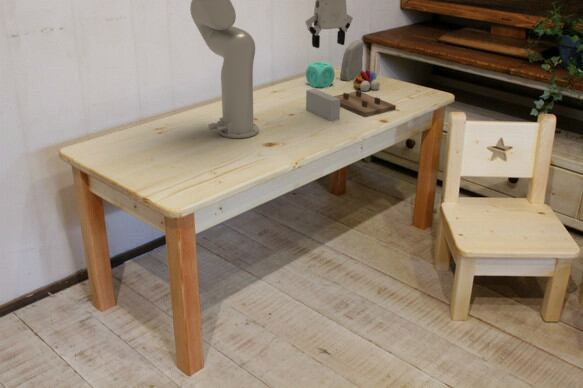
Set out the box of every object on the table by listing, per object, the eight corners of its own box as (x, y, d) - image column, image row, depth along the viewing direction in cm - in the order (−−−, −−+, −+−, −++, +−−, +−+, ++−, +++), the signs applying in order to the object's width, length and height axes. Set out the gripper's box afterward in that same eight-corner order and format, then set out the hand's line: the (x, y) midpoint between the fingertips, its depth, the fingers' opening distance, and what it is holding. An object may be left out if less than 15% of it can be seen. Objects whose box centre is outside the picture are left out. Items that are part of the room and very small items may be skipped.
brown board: (364, 117, 210) (365, 107, 209) (327, 101, 225) (328, 91, 223) (395, 109, 218) (396, 99, 216) (358, 94, 232) (358, 85, 231)
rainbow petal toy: (349, 87, 242) (350, 68, 238) (371, 84, 245) (372, 65, 242) (360, 93, 235) (361, 74, 232) (382, 90, 238) (384, 71, 235)
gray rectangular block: (331, 121, 207) (331, 100, 204) (305, 109, 217) (306, 90, 214) (339, 119, 208) (340, 99, 205) (314, 108, 219) (314, 88, 216)
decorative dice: (320, 80, 248) (321, 60, 245) (334, 85, 243) (335, 64, 239) (305, 84, 244) (305, 63, 240) (319, 89, 238) (319, 68, 235)
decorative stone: (349, 82, 247) (351, 44, 240) (336, 79, 250) (338, 41, 243) (364, 76, 255) (366, 39, 248) (351, 73, 258) (353, 37, 251)
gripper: (314, -7, 189) (312, 51, 196) (360, -10, 197) (356, 45, 205) (300, -10, 195) (299, 46, 202) (346, -13, 203) (343, 40, 210)
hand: (328, 45), depth 203 cm, fingers open, 9 cm apart
